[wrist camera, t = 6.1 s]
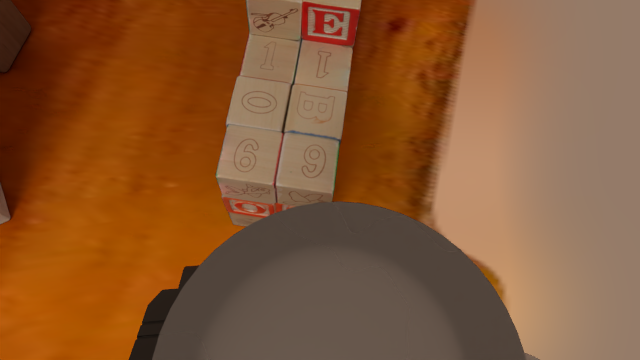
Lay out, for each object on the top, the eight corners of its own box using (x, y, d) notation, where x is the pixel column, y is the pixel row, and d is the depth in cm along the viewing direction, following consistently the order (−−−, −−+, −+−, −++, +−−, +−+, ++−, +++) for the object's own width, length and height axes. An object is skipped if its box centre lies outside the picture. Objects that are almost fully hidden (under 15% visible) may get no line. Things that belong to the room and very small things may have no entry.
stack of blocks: (322, 240, 33) (338, 174, 21) (232, 226, 33) (198, 152, 21) (358, -5, 40) (384, -151, 29) (285, -16, 40) (281, -167, 29)
